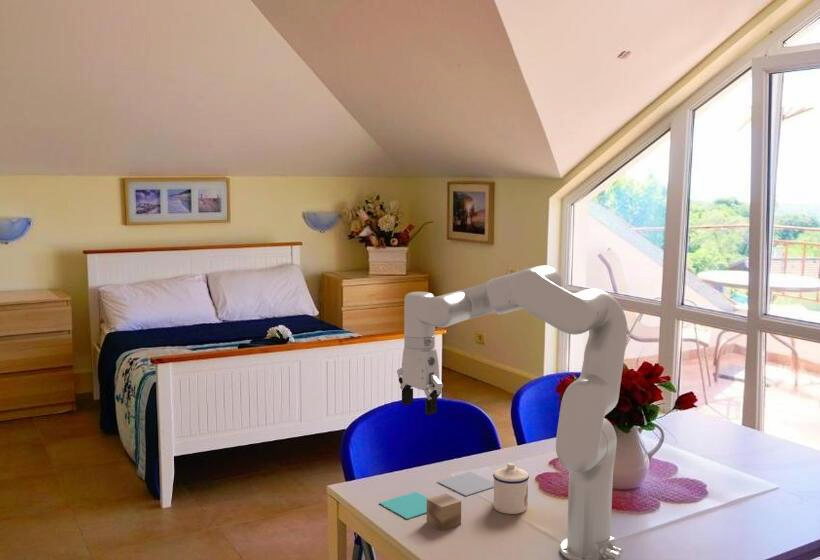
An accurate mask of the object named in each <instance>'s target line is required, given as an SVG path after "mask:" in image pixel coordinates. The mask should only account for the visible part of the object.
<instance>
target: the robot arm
mask: <svg viewBox="0 0 820 560" xmlns="http://www.w3.org/2000/svg"><path fill="white" fill-rule="evenodd" d="M403 303H404V308H403V309H404V313H403V314H404V318H403V319H404V326H403V327H404V328H403V329H404V334H403V335H404V337H403V338H404V339H403V340H404V342H403V349H402V350H403V351H402V361H401V367H400V368H398V369H397V370H396V374H397V377H398V383H399V384H400V386H399V388H400V390H401V405H402V406H404V407H405V406H409V405H413V403H414V388H415V389H417V390H420V391H424V395H425V396H426V398H425V399H424V401H425V404H424V405H425V406H424V408H425V409H424V411H425V412H424V414H425V415H426V416H431V415H436V414H437V413H438V398H439V397H440V396H441V393H442V389H443V387H444V384H443V382H442V381H441V380H440V366H439V357H438V352H437V349H436V348H435V346H436V345H435V344H436V343H435V342H436V339H435V337H436V328H440V329H441V328H443V329H444V328H447V327H450V326H453V325H455V324H458V323H461V322H464V321H467V320H471V319H476V318H478V317H482V316H486V315H491V314H497V315H504V314H509V313H511V312H515V311H516V312H517V311H520V310H525V312H527V313H529V314H531V315H533V316H534V317H536V318H537V319H539V320H540V321H543V322H545V323H546V324H548V325H550V326H552V327H553V328H555V329H557V330H558V331H561V332H562V333H564V334H569V335H573V336H574V335H581V334H584V333H587V332H588V338H587V341H586V345H585V348H584V353H583V361H582V362H583V363H582V367H581V372H580V375H579V377H578V378H576V380H573V382H571V383H570V384H569V385H568V386H567V387H566V389H565V391H564V393H563V396H562V398H561V402H560V403H561V404H560V407H559V409H560V410H559V415H558V416H559V417H558V423H557V428H556V429H557V430H556V436H555V437H556V438H555V453H556V456H557V459H558V461H559V463H560V464H561V465H562V467H564V468H565V469H566V470H567V471H569V472H568V475H569V476H568V496H567V497H568V499H567V500H568V502H567V504H568V505H567V534H566V535H567V538H565V539H564V540H562V542H560V545H559V551H560V553H561V555H562V556H563V557H564V558H565V559H567V560H621V556H622V554H624V553H623V552H624V550H623V549H622V548H621V547H617V546H615V537H613V536H611V535H612V533H611V532H612V505H613V504H612V502H613V501H612V500H613V483H614V482H613V479H614V477H613V476H614V466H615V460H616V453H617V452H616V451H617V445H618V443H617V442H618V441H617V433H616V431H615V428H614V426H613V424H612V423H611V422H610V421H609V420H608V418H605V417H606V415H608V414H610V412H612V411H613V409H614V408H616V407H617V404H618V402H619V398H620V392H621V390H620V389H621V383H622V376H623V369H624V360H625V353H626V348H627V347H626V346H627V338H628V321H627V318H626V315H625V312H624V309H623V308H622V306H621V304H620V303H619V302H618V301H617V300H616V299H615V297H613V296H612V294H610V293H608V292H607V291H604V290H603V289H600V288H586V289H585V288H584V289H582V290H579V291H577V292H574V293H572V292H570V291H568V290H566V289H565V288H563V280H562V277H561V274H560V272H559V271H558V270H556V268H554V267H551V266H549V265H543V264H542V265H537V266H532V267H529V268H525V269H522V270H518V271H516V272H512V273H508V274H504V275H502V276H498V277H493V278H491V279H489V280H488V281H487V282H485V283H484V282H483V283H481V284H478V285H475V286H471V287H468V288H465V289H461V290H457V291H456V290H455V291H452V292H449V293H444V294H442V295H438V296H434V294H433V293H431V292H428V291H412V292H409V293H407V294H405V296H404V302H403ZM430 391H431V392H430Z"/></svg>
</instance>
